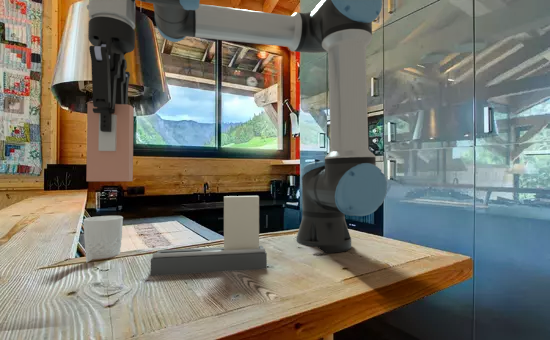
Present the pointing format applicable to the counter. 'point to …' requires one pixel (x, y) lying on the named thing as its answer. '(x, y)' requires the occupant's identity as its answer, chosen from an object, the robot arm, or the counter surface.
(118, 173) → the panel
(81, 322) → the counter surface
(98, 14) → the robot arm
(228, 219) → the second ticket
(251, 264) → the grey stand base
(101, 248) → the white cup
